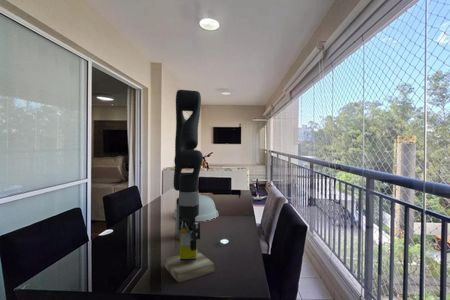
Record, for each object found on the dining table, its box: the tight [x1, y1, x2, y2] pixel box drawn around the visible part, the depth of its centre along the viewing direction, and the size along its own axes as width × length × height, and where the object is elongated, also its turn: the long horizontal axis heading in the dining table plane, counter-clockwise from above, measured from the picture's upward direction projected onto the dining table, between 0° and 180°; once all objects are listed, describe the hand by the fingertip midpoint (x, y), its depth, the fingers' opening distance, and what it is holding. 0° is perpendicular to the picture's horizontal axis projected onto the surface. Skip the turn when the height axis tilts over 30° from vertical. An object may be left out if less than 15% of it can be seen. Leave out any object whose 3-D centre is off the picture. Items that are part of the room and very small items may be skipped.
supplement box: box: [179, 227, 198, 261], centre depth 93 cm, size 6×6×11 cm
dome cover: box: [173, 194, 220, 222], centre depth 170 cm, size 32×30×14 cm
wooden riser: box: [164, 250, 215, 283], centre depth 93 cm, size 14×14×3 cm
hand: (188, 246), depth 93 cm, fingers closed on supplement box, 8 cm apart
